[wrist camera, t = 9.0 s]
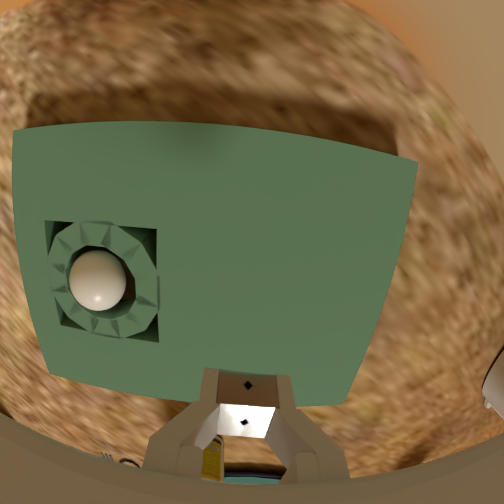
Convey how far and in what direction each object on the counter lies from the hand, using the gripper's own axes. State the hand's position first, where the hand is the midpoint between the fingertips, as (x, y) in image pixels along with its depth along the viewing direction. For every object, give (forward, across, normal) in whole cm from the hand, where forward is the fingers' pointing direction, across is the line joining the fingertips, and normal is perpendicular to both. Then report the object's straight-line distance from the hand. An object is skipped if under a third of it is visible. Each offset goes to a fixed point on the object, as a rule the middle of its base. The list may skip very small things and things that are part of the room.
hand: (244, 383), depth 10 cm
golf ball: (+8, +10, +2) cm, 13 cm away
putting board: (+11, +3, +2) cm, 11 cm away
